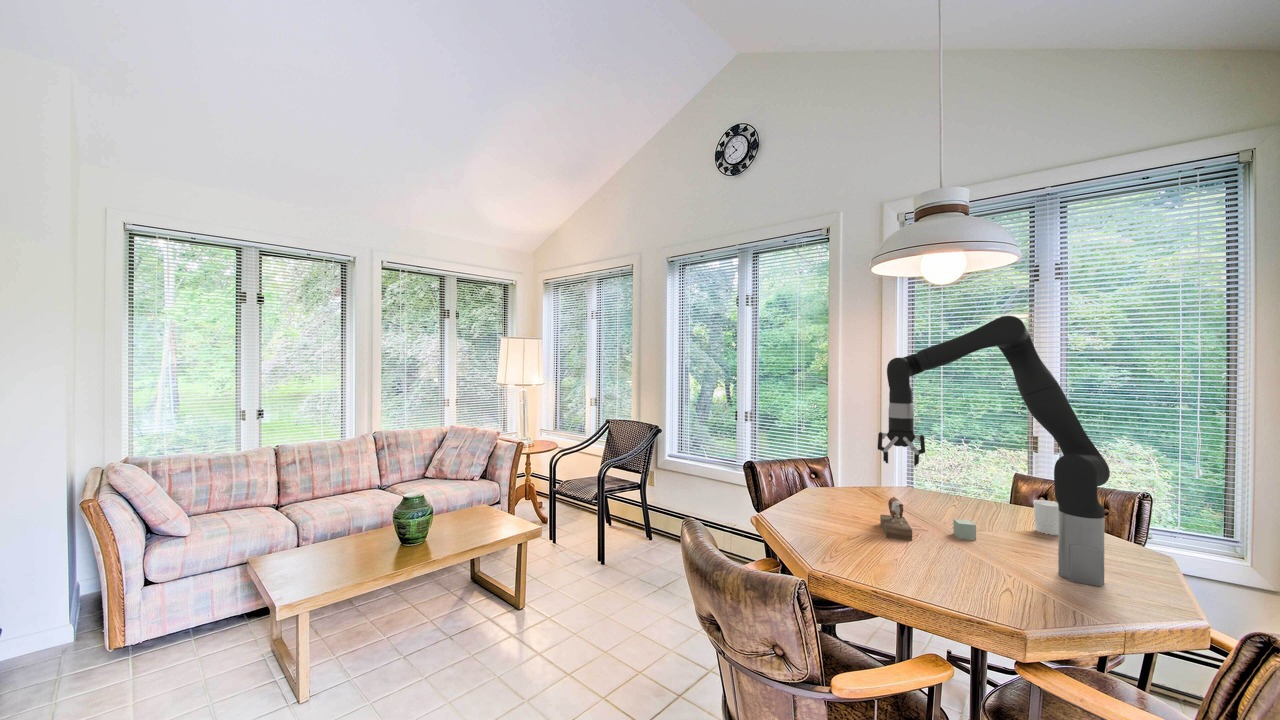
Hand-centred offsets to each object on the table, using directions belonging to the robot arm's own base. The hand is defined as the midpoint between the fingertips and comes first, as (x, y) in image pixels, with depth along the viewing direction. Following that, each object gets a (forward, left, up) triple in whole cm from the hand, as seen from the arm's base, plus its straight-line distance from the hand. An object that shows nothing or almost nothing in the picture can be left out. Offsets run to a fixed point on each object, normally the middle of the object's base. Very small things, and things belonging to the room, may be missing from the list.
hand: (901, 464), depth 168 cm
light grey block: (+28, -43, -23) cm, 56 cm away
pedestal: (-1, +2, -24) cm, 24 cm away
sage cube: (+7, -18, -23) cm, 30 cm away
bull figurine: (-1, +1, -20) cm, 20 cm away
